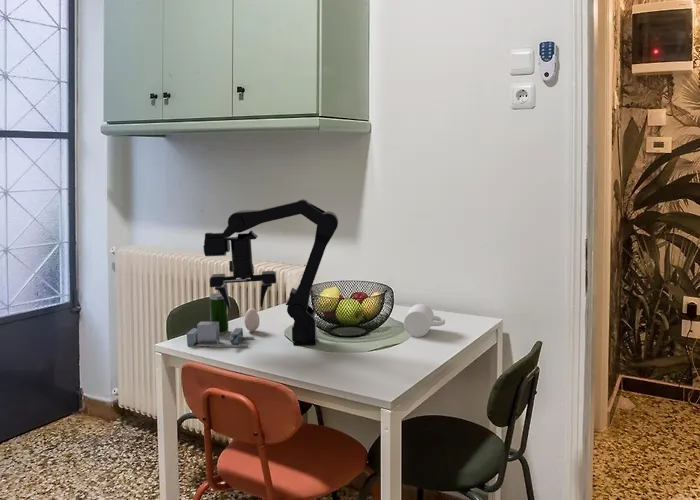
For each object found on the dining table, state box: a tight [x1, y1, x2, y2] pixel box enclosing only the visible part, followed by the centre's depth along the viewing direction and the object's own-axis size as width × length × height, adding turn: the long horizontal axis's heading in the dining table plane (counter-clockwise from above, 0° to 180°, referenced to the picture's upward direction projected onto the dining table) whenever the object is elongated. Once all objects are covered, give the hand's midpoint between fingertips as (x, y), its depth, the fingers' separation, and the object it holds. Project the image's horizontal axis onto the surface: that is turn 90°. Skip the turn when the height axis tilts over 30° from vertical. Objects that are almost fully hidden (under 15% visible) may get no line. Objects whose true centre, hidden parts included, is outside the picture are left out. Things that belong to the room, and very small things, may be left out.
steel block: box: [196, 321, 221, 344], centre depth 190 cm, size 4×6×6 cm, turn 87°
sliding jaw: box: [229, 327, 244, 345], centre depth 188 cm, size 2×10×3 cm, turn 177°
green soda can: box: [209, 292, 229, 335], centre depth 201 cm, size 5×5×12 cm
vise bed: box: [186, 327, 255, 348], centre depth 190 cm, size 18×8×4 cm, turn 87°
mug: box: [403, 303, 446, 338], centre depth 198 cm, size 12×10×8 cm
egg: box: [243, 307, 260, 333], centre depth 202 cm, size 5×5×7 cm
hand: (245, 307), depth 189 cm, fingers open, 9 cm apart
